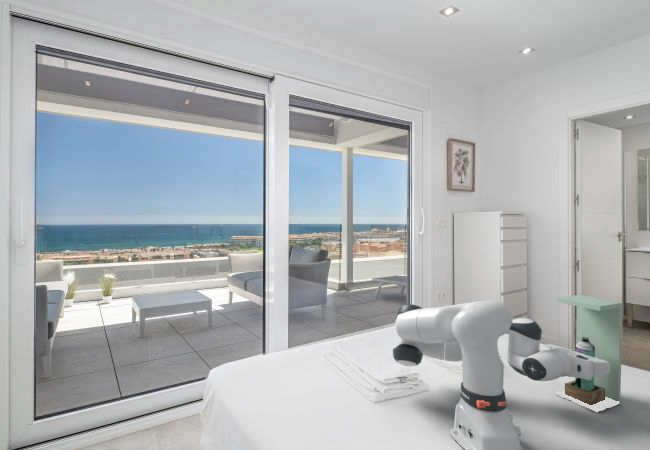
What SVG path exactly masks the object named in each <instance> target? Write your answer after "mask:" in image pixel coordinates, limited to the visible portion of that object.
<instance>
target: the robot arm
mask: <svg viewBox="0 0 650 450" xmlns="http://www.w3.org/2000/svg"><path fill="white" fill-rule="evenodd" d="M394 325H395V326H394V331H393V348H392V355H393V356H392V357H393V359H394V360H395V362H396V363H398V364H399V365H402V366H404V367H417V366H418V365H420V364H421V362H422V360H423V356H425V357H428V358H431V359H433V360H434V359H435V360H440V361H445V362H455V363H456V362H457V363H458V362H462V382H461V383H460V388H459V389H460V390H459V391H460V397H461V398H460V399H459V401H458V403H456V404H455V405H456V406H455V412H454V426H453V427H451V428H450V429H449V435H450V436H451V438H453V439H454V438H455V439H454V441H455V440H456V441H457V442H459V443H460V444H461V445H462V446H463V448H465V449H466V450H524V448H523V446H522V444H521V442H520V438H519V437H520V436H521V435H522V431H521V428H520V427H519V426H516V425H515V424H514V421H513V419H514V418H513V415H511V414H510V413H509V411H508V408H507V406H508V404H507V403H508V402H507V396H506V393H505V390H504V376H505V375H504V369H505V367H504V365H505V364H504V362H503V361H502V360H501V358H500V353H499V348H498V342H499V338H500V337H503V336H504V335H505V334H508V345H507V346H508V347H507V363H508V365H509V366H510V367H511V369H513V370H514V371H515V372H516V373H518V374H519V375H523V376H524V377H527V378H528V379H530V380H532V381H535V382H548V381H554V380H557V379H559V378H564V377H569V378H575V377H577V378H581V379H586V380H592V377H601V376H604V375H607V374H609V373H610V363H609V362H608V361H605V360H601V359H600V358H599V357H598V356H595V355H594V356H589V355H585V354H582V353H579V352H576V348H572V349H571V348H567V347H564V346H559V345H556V344H553V343H548V344H544V345H543V346H541V347H540V345H541V338H542V333H543V329H542V328H541V326H540V325H539V323H537V322H536V321H535V320H534V319H531V318H526V317H520V318H519V317H518V318H517V317H516V318H514V315H513V312H512V310H511V308H510V307H509V306H508V305H507V304H506V303H505V302H502V301H499V300H495V299H494V300H492V299H490V300H488V299H487V300H479V301H471V302H465V303H458V304H457V303H456V304H452V305H446V306H445V305H444V306H436V307H424V308H422V307H421V306H419V305H417V304H412V303H411V304H410V303H405V304H402V305H400V306H399V308H398V311H397V312H396V319H395V322H394ZM456 441H455V442H456ZM463 448H462V449H463Z"/></svg>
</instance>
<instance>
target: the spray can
mask: <svg viewBox="0 0 650 450" xmlns="http://www.w3.org/2000/svg"><path fill="white" fill-rule="evenodd" d="M594 347H595V346H594V345H593V344H591V343H590V341H589V340H588V338H587V337H583V338H582V340H581V341H580V342H577V343H576V342H575V350H576V352H579V353H582V354H585V355H589V356H594V355H595V348H594ZM574 380H575V387H578V388H580V389H583V390H585V391H588V392H591V391H594V377H592V380H586V379H581V378H577V377H574Z"/></svg>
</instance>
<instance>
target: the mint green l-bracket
mask: <svg viewBox="0 0 650 450" xmlns="http://www.w3.org/2000/svg"><path fill="white" fill-rule="evenodd" d="M556 299H557V300H556V302H557V303H561V304H564V305H568V306H576V328H575V329H576V333H575V334H576V335H575V336H576V337H575V344H576V343H577V342H580V341H581V340H582V338H583V337H587V338H588V340H589V341H590V343H591V344H593V345H594V346H595V347H594V348H595V356H598V357H599V358H600V359H601V360H605V361H608V362H609V363H610V373H609V374H607V375H604V376H601V377H594V385H596V386H599V387H601V388H604V389H605V397H608V398H611V399H613V400H615V401H621V389H622V388H621V387H622V386H621V385H622V384H621V383H622V351H623V350H622V348H623V346H622V345H623V314H624V313H623V311H624V307H623V306H624V302H623V301H616V300H611V299H606V298H600V297H595V296H591V295H590V296H588V295H584V294H576V295H567V296H560V297H557V298H556Z"/></svg>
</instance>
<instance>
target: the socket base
mask: <svg viewBox="0 0 650 450" xmlns="http://www.w3.org/2000/svg"><path fill="white" fill-rule="evenodd" d="M564 389H565V394H566V395H568V396H571V397H573V398H575V399H578V400H580V401H582V402H584V403H587V404H589V405H593V404H596V403H598V402H600V401H603V400H605V389H604V388H601V387H599V386H596V385H594V391H591V392H588V391H585V390H583V389H580V388H578V387H575V379H574V380H572V381H568V382H565V383H564Z"/></svg>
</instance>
